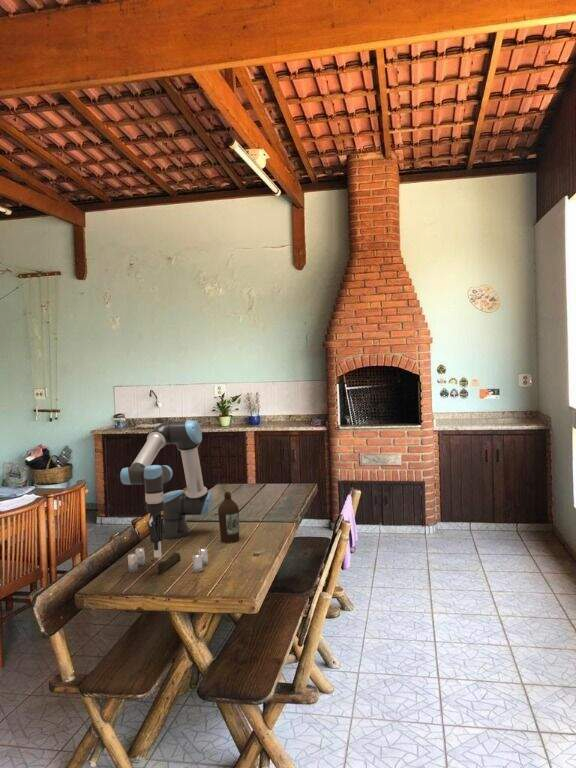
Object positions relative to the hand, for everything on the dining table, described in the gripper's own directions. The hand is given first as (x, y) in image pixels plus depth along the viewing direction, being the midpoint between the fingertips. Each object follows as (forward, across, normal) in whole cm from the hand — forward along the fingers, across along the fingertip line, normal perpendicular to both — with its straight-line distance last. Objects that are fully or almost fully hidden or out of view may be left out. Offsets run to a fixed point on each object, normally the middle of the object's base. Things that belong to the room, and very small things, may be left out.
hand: (157, 556), depth 245 cm
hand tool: (+9, +12, 0) cm, 15 cm away
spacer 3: (+9, +8, -15) cm, 19 cm away
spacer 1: (+9, +8, +15) cm, 19 cm away
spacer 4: (+9, +16, -15) cm, 23 cm away
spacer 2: (+9, +16, +15) cm, 23 cm away
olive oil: (+8, +50, -18) cm, 54 cm away
